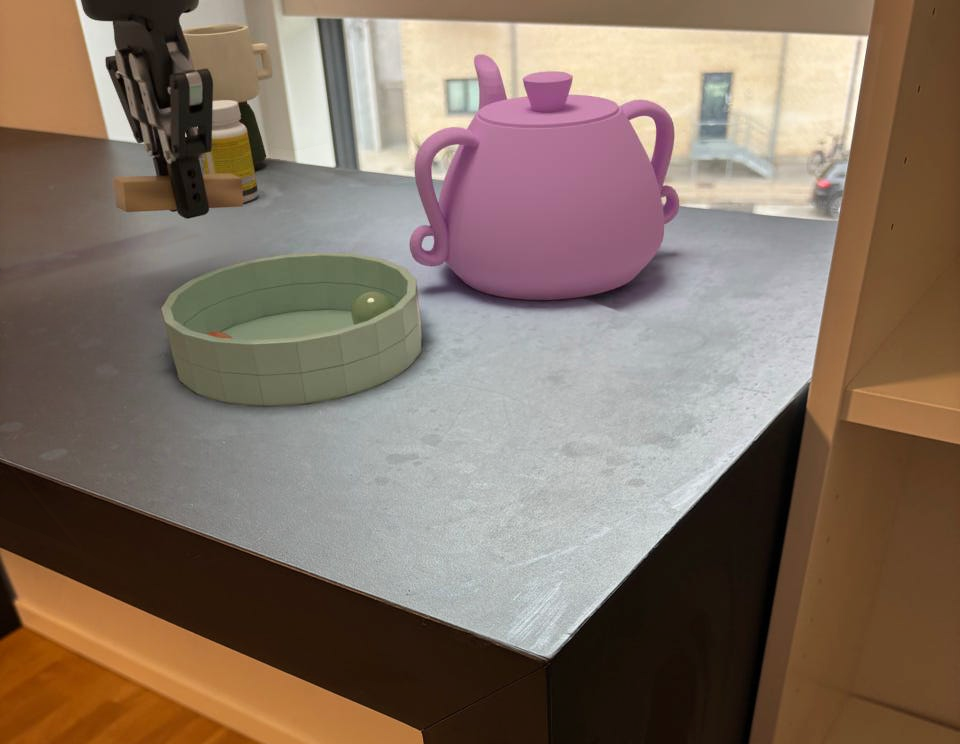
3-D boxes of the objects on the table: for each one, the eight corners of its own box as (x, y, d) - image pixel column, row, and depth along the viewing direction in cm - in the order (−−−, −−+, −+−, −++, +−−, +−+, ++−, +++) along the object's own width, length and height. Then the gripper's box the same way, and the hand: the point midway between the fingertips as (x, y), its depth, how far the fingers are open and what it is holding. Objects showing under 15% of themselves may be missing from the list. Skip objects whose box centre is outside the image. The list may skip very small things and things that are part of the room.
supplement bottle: (268, 194, 101) (252, 100, 95) (235, 207, 98) (217, 111, 92) (234, 189, 103) (216, 97, 98) (200, 202, 100) (180, 107, 95)
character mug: (274, 153, 114) (253, 19, 106) (297, 165, 110) (276, 26, 101) (180, 169, 111) (150, 32, 103) (200, 183, 106) (170, 39, 98)
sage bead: (363, 310, 66) (384, 348, 68) (392, 282, 67) (411, 320, 69) (334, 308, 68) (355, 345, 70) (363, 281, 69) (383, 318, 71)
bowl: (248, 440, 59) (233, 367, 56) (140, 358, 69) (122, 293, 67) (470, 361, 66) (466, 293, 64) (342, 298, 77) (334, 237, 74)
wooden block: (232, 201, 78) (230, 173, 77) (243, 206, 76) (242, 178, 75) (116, 206, 73) (112, 176, 72) (126, 212, 72) (123, 181, 71)
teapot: (596, 210, 91) (599, 33, 83) (732, 283, 75) (755, 72, 67) (363, 252, 85) (341, 65, 77) (458, 340, 69) (443, 117, 61)
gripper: (225, -77, 62) (275, 220, 72) (139, -79, 71) (195, 185, 81) (107, -65, 58) (178, 244, 69) (32, -69, 67) (105, 205, 78)
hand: (187, 211), depth 75 cm, fingers closed on wooden block, 2 cm apart
